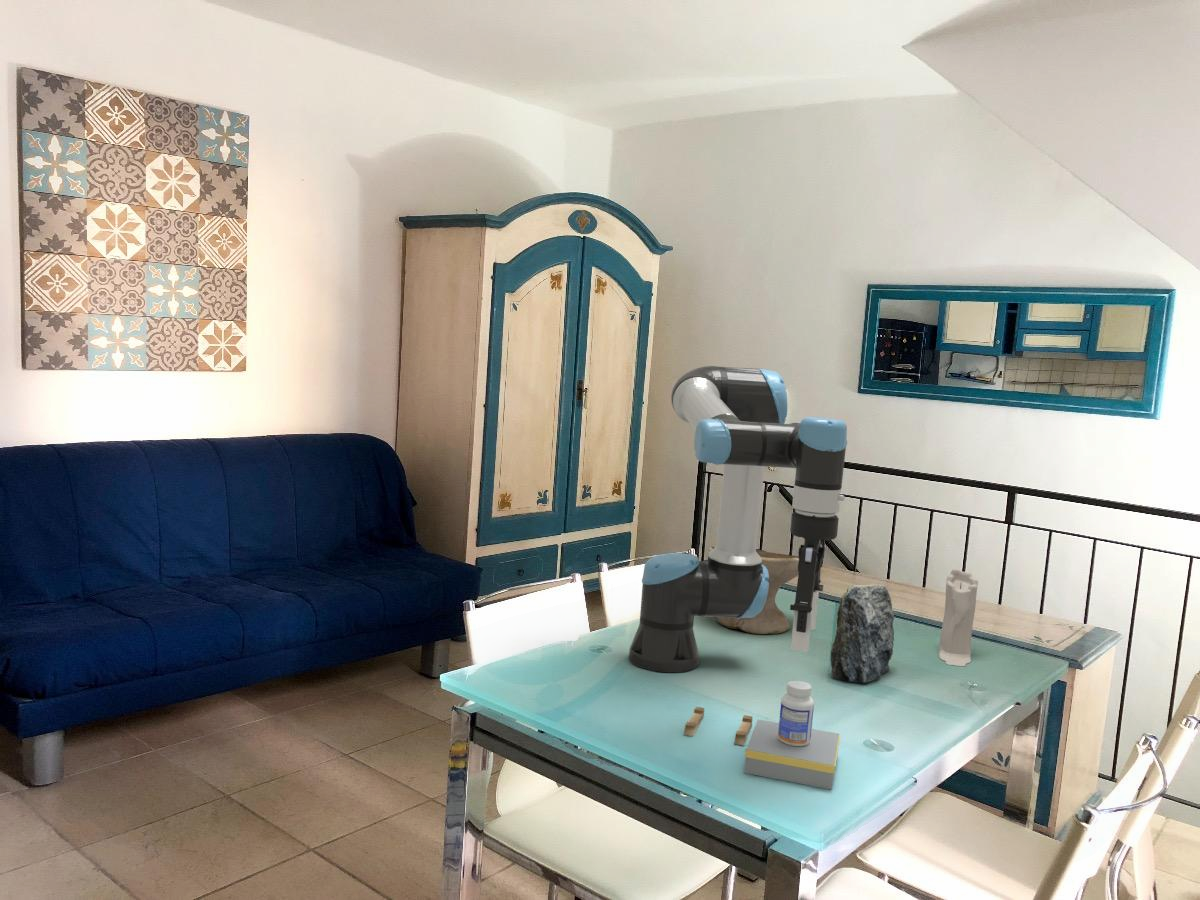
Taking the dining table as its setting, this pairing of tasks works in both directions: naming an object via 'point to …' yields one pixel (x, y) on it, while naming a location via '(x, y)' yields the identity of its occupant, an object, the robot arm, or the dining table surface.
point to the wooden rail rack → (698, 716)
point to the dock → (792, 756)
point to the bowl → (768, 597)
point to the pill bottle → (796, 714)
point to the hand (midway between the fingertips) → (803, 639)
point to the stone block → (863, 634)
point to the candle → (958, 618)
